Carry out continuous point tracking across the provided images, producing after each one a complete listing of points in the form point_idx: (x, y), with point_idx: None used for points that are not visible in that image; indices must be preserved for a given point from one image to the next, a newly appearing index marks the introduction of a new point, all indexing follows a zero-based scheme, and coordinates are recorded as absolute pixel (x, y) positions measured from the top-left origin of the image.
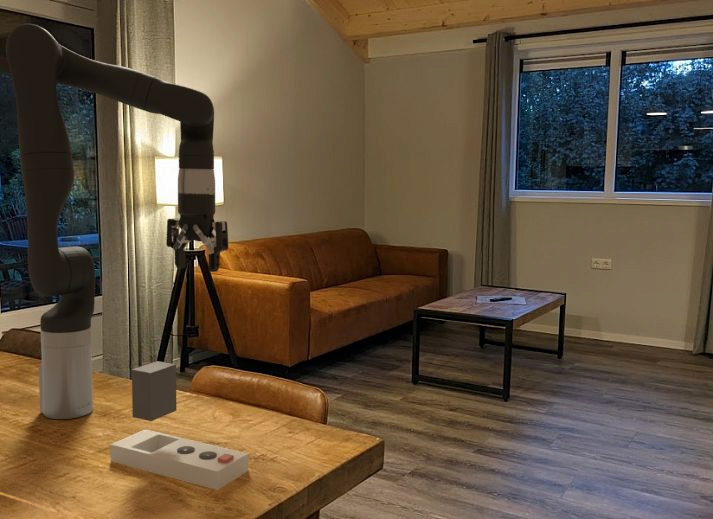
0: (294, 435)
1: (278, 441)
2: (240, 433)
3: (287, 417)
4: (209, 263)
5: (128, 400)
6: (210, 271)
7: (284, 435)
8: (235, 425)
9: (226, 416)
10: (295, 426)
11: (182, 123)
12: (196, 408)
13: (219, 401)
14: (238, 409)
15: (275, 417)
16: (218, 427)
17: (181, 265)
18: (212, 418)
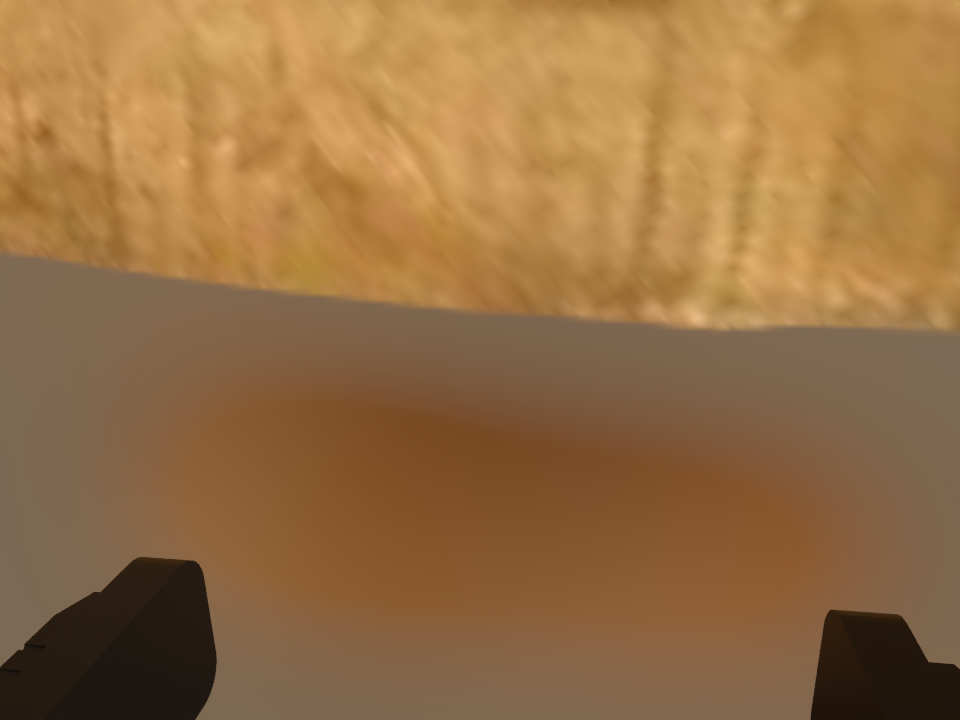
0: (12, 110)
1: (12, 22)
2: (174, 12)
3: (155, 263)
4: (107, 633)
5: (901, 86)
6: (177, 561)
7: (38, 90)
8: (250, 79)
9: (350, 149)
10: (71, 194)
11: None
12: (524, 166)
13: (499, 293)
14: (366, 247)
15: (189, 241)
16: (288, 19)
17: (832, 690)
18: (381, 97)
